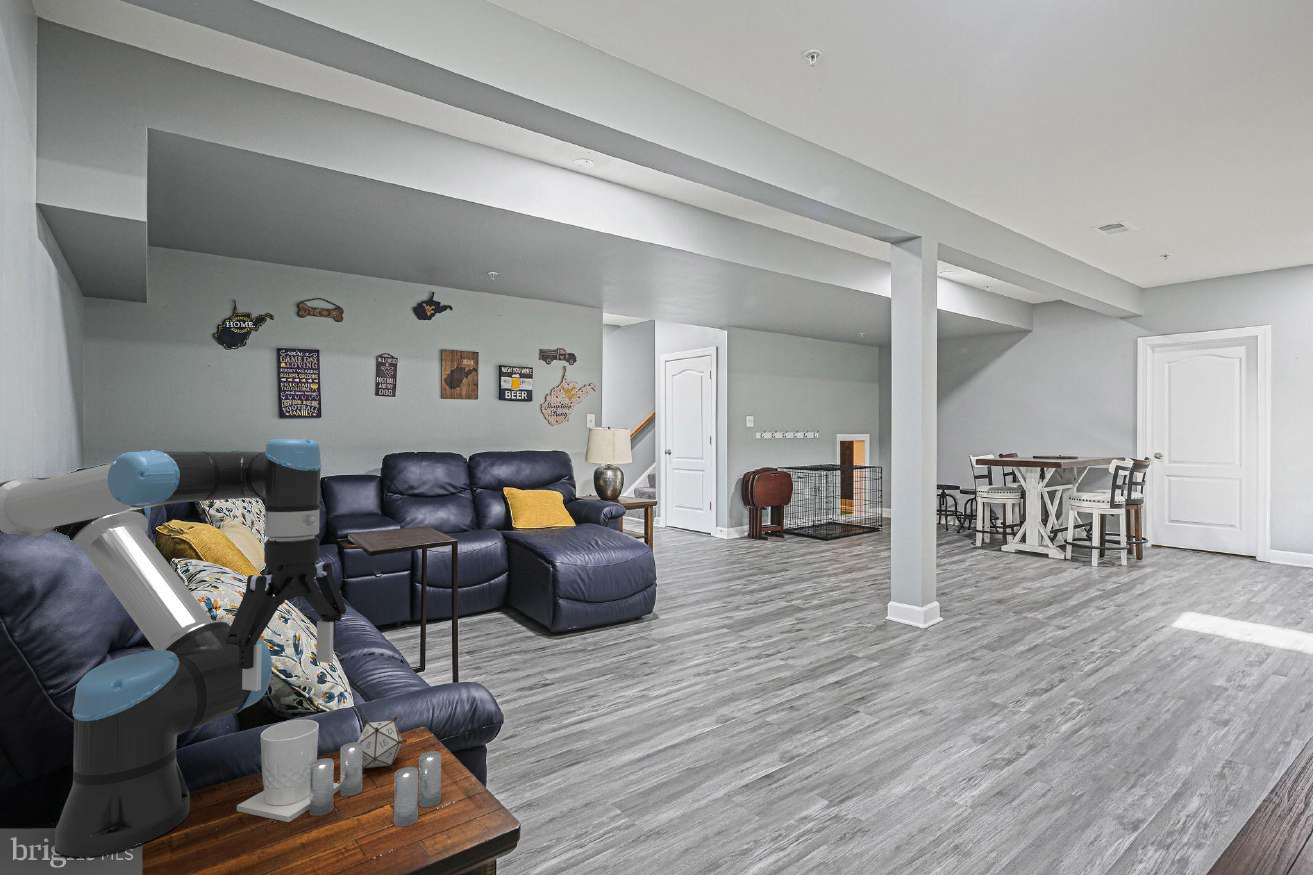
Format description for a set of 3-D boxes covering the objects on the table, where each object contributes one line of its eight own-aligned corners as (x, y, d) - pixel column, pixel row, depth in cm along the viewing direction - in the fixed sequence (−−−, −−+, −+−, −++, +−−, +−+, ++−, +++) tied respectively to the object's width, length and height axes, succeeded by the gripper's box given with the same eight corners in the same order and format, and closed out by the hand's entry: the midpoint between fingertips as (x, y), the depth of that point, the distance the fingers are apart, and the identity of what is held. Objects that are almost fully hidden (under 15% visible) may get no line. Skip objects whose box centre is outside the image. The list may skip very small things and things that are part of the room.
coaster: (236, 810, 100) (236, 805, 100) (292, 779, 109) (292, 774, 109) (288, 822, 97) (288, 816, 97) (341, 789, 106) (341, 784, 106)
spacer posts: (304, 814, 99) (304, 766, 99) (355, 781, 108) (355, 738, 109) (400, 834, 93) (401, 783, 94) (445, 798, 103) (445, 752, 103)
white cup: (293, 810, 98) (293, 742, 98) (247, 805, 100) (247, 738, 100) (329, 784, 106) (329, 721, 106) (286, 780, 107) (286, 717, 108)
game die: (366, 790, 113) (338, 738, 115) (412, 757, 119) (384, 708, 121) (373, 783, 107) (342, 728, 109) (421, 749, 112) (391, 697, 114)
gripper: (238, 549, 91) (235, 706, 90) (369, 529, 115) (367, 653, 114) (197, 547, 93) (194, 699, 93) (334, 528, 117) (332, 649, 117)
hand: (290, 674), depth 104 cm, fingers open, 13 cm apart
